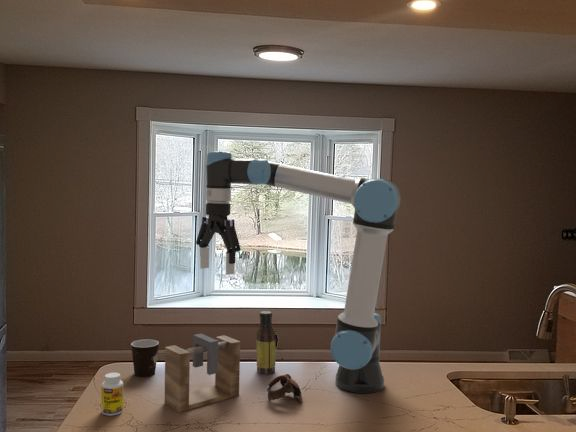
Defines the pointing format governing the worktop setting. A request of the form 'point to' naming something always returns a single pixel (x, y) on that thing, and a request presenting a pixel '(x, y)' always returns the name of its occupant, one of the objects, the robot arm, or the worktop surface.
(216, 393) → the rack
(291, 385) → the brown looped piece
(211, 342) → the u piece
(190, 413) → the worktop surface
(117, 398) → the supplement bottle
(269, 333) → the sauce bottle
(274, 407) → the worktop surface
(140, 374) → the coffee mug
